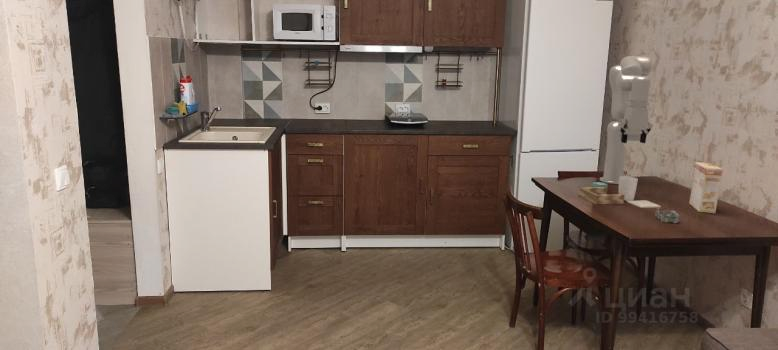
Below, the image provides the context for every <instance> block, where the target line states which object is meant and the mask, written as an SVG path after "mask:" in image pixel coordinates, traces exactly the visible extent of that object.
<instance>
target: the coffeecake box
mask: <svg viewBox="0 0 778 350" xmlns="http://www.w3.org/2000/svg"><path fill="white" fill-rule="evenodd" d="M723 170H724V169H723V168H721V167H719V166H717V165H715V164H714V163H711V162H702V161H700V162H698V161H695V165H694V171H693V178H692V183H691V184H692V185H691V191H690V195H689V196H690V197H689V205H691V206H692V208H694V209H695V210H696V211H697V212H699V213H710V214H716V212H717V207H718V200H719V194H720V190H721V189H720V187H721V181H722V175H723V172H724V171H723Z"/></svg>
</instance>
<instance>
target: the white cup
mask: <svg viewBox="0 0 778 350" xmlns="http://www.w3.org/2000/svg"><path fill="white" fill-rule="evenodd" d="M638 180H639V178H638V177H635V176H631V177H628V176H621V177H619V184H618V190H617V191H618V194H623V195H624V201H626V202H627V201H635V195H636V191H637V185H638V182H639V181H638Z"/></svg>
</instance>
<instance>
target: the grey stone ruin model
mask: <svg viewBox="0 0 778 350" xmlns="http://www.w3.org/2000/svg"><path fill="white" fill-rule="evenodd" d="M655 209H656V211H655V217H656V218H657V219H658V220H660V222H661V223H672V224H678V223H679V221H680V214H679V213H677V212H676V210H667V209H664V210H663V211H662V209H661V208H657V207H656V208H655Z"/></svg>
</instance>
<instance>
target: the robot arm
mask: <svg viewBox="0 0 778 350" xmlns="http://www.w3.org/2000/svg"><path fill="white" fill-rule="evenodd" d="M652 69H653V61H652V59H651V58H650V57H649V56H642V55H641V56H639V55H628V56H625V57H623V58H622V59H621V61H620V63H619V64H618V65H617V64H616V65H614V66H612V67H611V68H610V69H609V72H608V79H609V85H610V88H611V92H612V93H611V94H612V95H611V109H610V111H611V116H612V118H613V119H616V120H615V121H611V122H609V123H608V125H607V131H606V132H607V133H606V134H607V139H606V140H607V142H606V143H607V145H606V151H605V160H604V169H603V176H601V177H599V182H601V183H605V184H612V185H614V184H615V185H619V177H621V176H628V177H632V175H631V174H626V173H624V172H625V164H626V157H627V147H626V145H625V144H627V142H628V141H629V142H630V141H631V142H640V143H642V144H646V141H647V135H649V133H650V132H651V130H652V128H653V126H654V124H653V123H651V122H650V121H649V109H648V106H650V102H649V97H650V89H651V87H652V86H651V85H652V82H651V78H649V75H650V74H651V72H652ZM622 120H623V121H622Z"/></svg>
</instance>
